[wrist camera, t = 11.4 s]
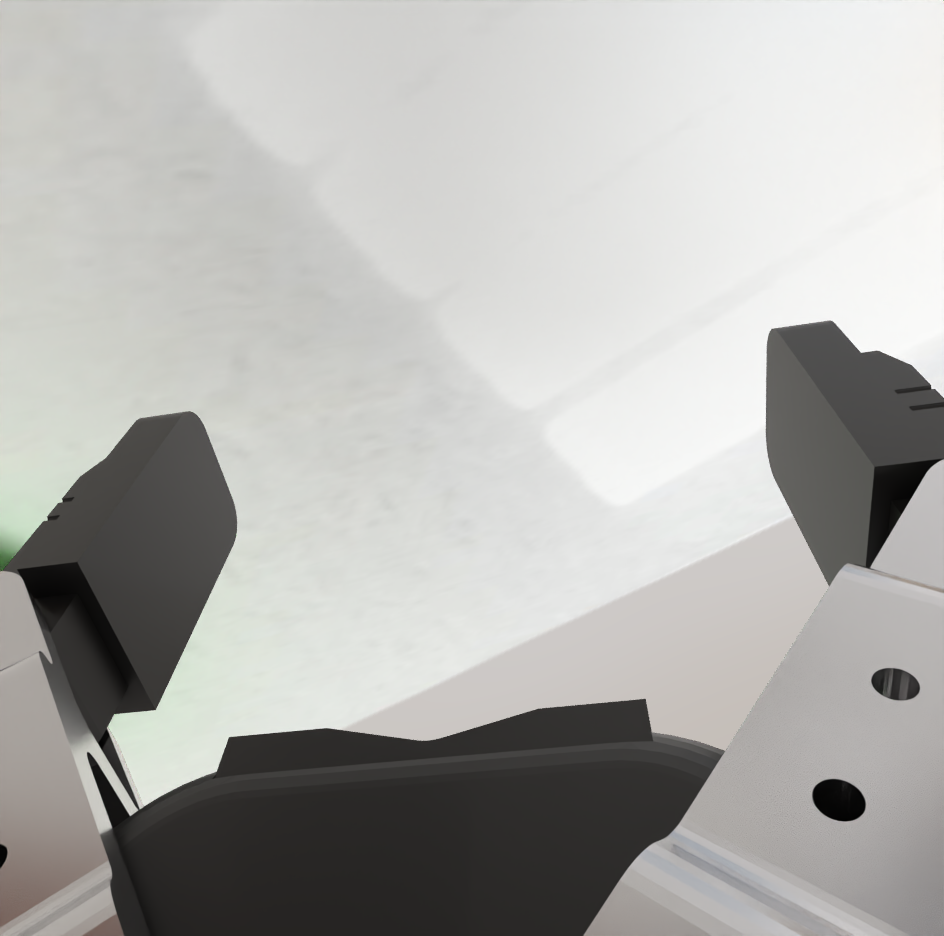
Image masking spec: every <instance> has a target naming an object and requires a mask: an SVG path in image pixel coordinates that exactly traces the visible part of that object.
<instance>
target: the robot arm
mask: <svg viewBox="0 0 944 936" xmlns="http://www.w3.org/2000/svg"><path fill="white" fill-rule="evenodd" d="M766 443H767V452H768V458H769V463H770V467H771V470H772V473H773V476H774V478H775V481H776V483H777V485H778V487H779V488H780V490H781V492H782V494H783V496H784V498H785V500H786V502H787V504H788V506H789V508H790V510H791V512H792V514H793V516H794V518H795V520H796V522H797V524H798V526H799V528H800V530H801V532H802V534H803V536H804V538H805V540H806V542H807V543H808V546H809V548H810V550H811V552H812V553H813V555H814V557H815V559H816V561H817V563H818V565H819V567H820V569H821V571H822V573H823V575H824V577H825V579H826V581H827V583H828V585H829V588H828V589H827V591H826V593H825V594H824V596H823V597H822V599H821V600H820V602H819V604H818V605H817V607H816V608H815V610H814V612H813V613H812V615H811V616H810V618H809V619H808V621H807V623H806V624H805V626H804V627H803V629H802V631H801V632H800V634H799V635H798V637H797V638H796V640H795V642H794V643H793V645H792V646H791V648H790V649H789V651H788V653H787V654H786V656H785V657H784V659H783V661H782V662H781V664H780V665H779V667H778V668H777V670H776V672H775V673H774V675H773V677H772V678H771V680H770V681H769V683H768V684H767V686H766V688H765V689H764V691H763V692H762V694H761V695H760V697H759V699H758V700H757V702H756V703H755V705H754V706H753V708H752V710H751V711H750V713H749V714H748V716H747V718H746V719H745V721H744V722H743V724H742V725H741V727H740V729H739V730H738V732H737V733H736V735H735V736H734V738H733V740H732V742H731V743H730V745H729V746H728V748H727V749H726V751H724V750H721V749H718V748H715V747H712V746H710V745H707V744H704V743H701V742H697V741H693V740H689V739H685V738H681V737H676V736H672V735H664V734H659V733H652V732H651V727H650V721H649V716H648V710H647V704H646V699H640V700H629V701H619V702H608V703H597V704H586V705H575V706H565V707H554V708H542V709H536V710H533V711H530V712H526V713H523V714H520V715H516V716H513V717H510V718H506V719H503V720H500V721H496V722H493V723H490V724H487V725H483V726H480V727H477V728H473V729H470V730H467V731H463V732H460V733H457V734H453V735H450V736H447V737H443V738H440V739H436V740H430V741H417V740H410V739H402V738H394V737H387V736H380V735H372V734H365V733H358V732H350V731H343V730H336V729H328V728H324V729H313V730H303V731H292V732H281V733H270V734H259V735H248V736H237V737H229V739H228V742H227V745H226V748H225V750H224V753H223V756H222V759H221V761H220V764H219V767H218V770H217V772H215V773H212V774H209V775H206V776H204V777H201V778H199V779H196V780H194V781H191V782H189V783H187V784H184V785H182V786H180V787H178V788H176V789H174V790H172V791H170V792H168V793H166V794H164V795H162V796H161V797H159V798H157V799H156V800H154V801H152V802H151V803H149V804H148V805H146V806H144V805H143V803H142V800H141V798H140V796H139V793H138V791H137V788H136V786H135V784H134V781H133V779H132V776H131V774H130V771H129V769H128V767H127V764H126V762H125V759H124V757H123V755H122V752H121V750H120V747H119V745H118V743H117V741H116V740H115V738H114V736H113V734H112V733H111V731H110V729H109V727H108V725H109V723H110V721H111V719H112V717H113V715H114V714H120V713H130V712H140V711H150V710H156V708H157V706H158V704H159V702H160V700H161V698H162V696H163V693H164V691H165V689H166V687H167V685H168V683H169V681H170V679H171V676H172V674H173V672H174V670H175V668H176V666H177V664H178V661H179V659H180V657H181V655H182V653H183V651H184V649H185V647H186V644H187V642H188V640H189V638H190V636H191V634H192V632H193V630H194V627H195V625H196V623H197V621H198V619H199V617H200V615H201V613H202V610H203V608H204V606H205V604H206V602H207V600H208V598H209V595H210V593H211V591H212V589H213V587H214V585H215V583H216V581H217V578H218V576H219V574H220V572H221V570H222V568H223V566H224V564H225V561H226V559H227V557H228V555H229V553H230V551H231V549H232V547H233V544H234V542H235V538H236V533H237V516H236V510H235V505H234V502H233V499H232V496H231V494H230V491H229V489H228V486H227V483H226V481H225V478H224V476H223V473H222V471H221V468H220V465H219V463H218V460H217V458H216V455H215V453H214V450H213V447H212V445H211V442H210V440H209V437H208V435H207V432H206V429H205V427H204V425H203V423H202V421H201V420H200V418H199V417H198V416H197V415H196V414H195V413H193V412H190V411H188V412H181V413H174V414H167V415H160V416H153V417H146V418H140V419H138V420H137V421H136V422H135V423H134V424H133V425H132V427H131V428H130V429H129V430H128V432H127V433H126V434H125V435H124V437H123V438H122V439H121V440H120V441H119V443H118V444H117V445H116V446H115V448H114V449H113V450H112V451H111V453H110V454H109V455H108V456H107V458H105V459H104V460H103V461H101V462H100V463H99V464H97V465H96V466H94V467H93V468H92V469H90V470H89V471H87V472H86V473H85V474H83V475H82V476H80V478H79V479H78V480H77V481H76V482H75V484H74V485H73V486H72V487H71V488H70V490H69V491H68V492H67V493H66V495H65V496H64V497H63V498H62V500H63V502H62V503H58V504H57V505H56V507H55V508H54V509H53V510H52V511H51V513H50V514H49V515H48V516H47V518H48V521H43V522H42V524H41V525H40V526H39V527H38V528H37V530H36V531H35V532H34V533H33V534H32V536H31V537H30V538H29V539H28V541H27V542H26V543H25V544H24V545H23V547H22V548H21V549H20V550H19V551H18V553H17V554H16V555H15V556H14V558H13V559H12V560H11V561H10V562H9V564H8V565H7V566H6V567H5V568H4V570H3V571H0V936H944V398H943V397H942V396H941V395H940V394H939V393H938V392H937V391H936V390H935V389H931V385H930V384H929V383H928V382H927V381H926V380H925V379H924V377H923V376H922V375H921V374H920V373H919V372H918V371H917V370H916V369H915V368H914V367H913V366H912V365H910V364H907V363H905V362H903V361H900V360H898V359H896V358H894V357H891V356H889V355H887V354H884V353H882V352H880V351H872V352H865V353H861V352H860V351H859V350H858V349H857V348H856V347H855V346H854V345H853V343H852V342H851V341H850V340H849V339H848V338H847V337H846V336H845V334H844V333H843V332H842V331H841V330H840V329H839V328H838V327H837V325H836V324H835V323H834V322H833V321H824V322H817V323H810V324H803V325H796V326H789V327H782V328H775V329H772V330H771V331H770V333H769V336H768V341H767V376H766Z"/></svg>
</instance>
